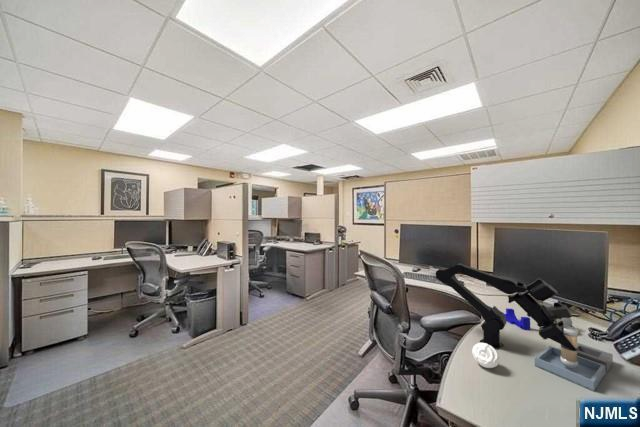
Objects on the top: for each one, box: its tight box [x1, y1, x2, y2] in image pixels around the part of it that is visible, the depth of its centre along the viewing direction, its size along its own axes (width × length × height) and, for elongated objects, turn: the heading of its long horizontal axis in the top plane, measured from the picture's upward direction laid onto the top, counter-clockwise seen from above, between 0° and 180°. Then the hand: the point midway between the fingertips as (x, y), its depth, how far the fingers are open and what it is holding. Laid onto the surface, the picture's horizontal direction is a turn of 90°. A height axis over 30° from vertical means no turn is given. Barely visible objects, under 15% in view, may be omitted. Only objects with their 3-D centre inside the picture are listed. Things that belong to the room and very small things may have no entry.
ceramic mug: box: [556, 317, 579, 334], centre depth 110 cm, size 11×8×8 cm
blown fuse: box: [560, 325, 579, 368], centre depth 80 cm, size 4×4×13 cm
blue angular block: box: [503, 307, 531, 331], centre depth 115 cm, size 12×4×6 cm, turn 173°
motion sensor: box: [471, 342, 500, 369], centre depth 82 cm, size 8×8×8 cm
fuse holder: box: [577, 342, 614, 373], centre depth 86 cm, size 10×10×4 cm
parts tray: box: [534, 345, 607, 392], centre depth 80 cm, size 16×14×3 cm
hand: (574, 347), depth 79 cm, fingers closed on blown fuse, 4 cm apart
